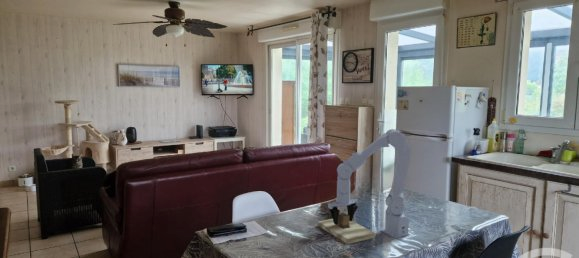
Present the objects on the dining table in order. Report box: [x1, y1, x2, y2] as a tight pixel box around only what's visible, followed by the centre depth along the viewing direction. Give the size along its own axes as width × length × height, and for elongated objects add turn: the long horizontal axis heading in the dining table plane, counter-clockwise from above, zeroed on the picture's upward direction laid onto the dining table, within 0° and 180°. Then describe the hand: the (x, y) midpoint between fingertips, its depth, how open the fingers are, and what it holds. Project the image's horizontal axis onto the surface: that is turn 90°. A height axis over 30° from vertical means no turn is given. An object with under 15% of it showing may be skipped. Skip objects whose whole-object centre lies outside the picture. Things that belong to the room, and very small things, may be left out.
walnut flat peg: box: [337, 212, 349, 229], centre depth 162 cm, size 5×3×7 cm, turn 28°
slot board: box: [317, 218, 376, 245], centre depth 160 cm, size 22×14×2 cm, turn 28°
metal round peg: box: [339, 206, 348, 215], centre depth 177 cm, size 5×5×7 cm
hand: (342, 222), depth 162 cm, fingers open, 7 cm apart
